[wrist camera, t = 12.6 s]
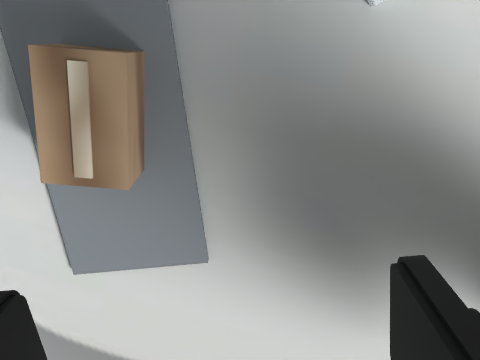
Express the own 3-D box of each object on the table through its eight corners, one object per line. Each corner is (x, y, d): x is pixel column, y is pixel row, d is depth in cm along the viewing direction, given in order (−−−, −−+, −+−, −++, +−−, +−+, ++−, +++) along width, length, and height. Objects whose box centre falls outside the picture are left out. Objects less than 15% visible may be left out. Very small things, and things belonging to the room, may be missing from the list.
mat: (208, 258, 34) (207, 262, 34) (76, 270, 35) (73, 274, 34) (149, -119, 25) (146, -123, 24) (-31, -94, 26) (-37, -97, 25)
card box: (144, 51, 28) (125, 53, 24) (144, 169, 31) (127, 191, 27) (60, 43, 28) (26, 44, 23) (68, 163, 31) (39, 183, 27)
